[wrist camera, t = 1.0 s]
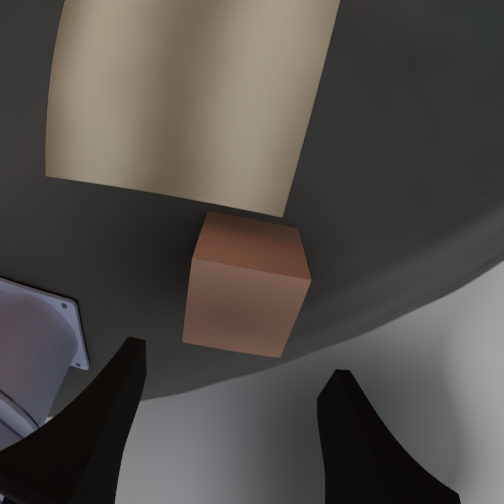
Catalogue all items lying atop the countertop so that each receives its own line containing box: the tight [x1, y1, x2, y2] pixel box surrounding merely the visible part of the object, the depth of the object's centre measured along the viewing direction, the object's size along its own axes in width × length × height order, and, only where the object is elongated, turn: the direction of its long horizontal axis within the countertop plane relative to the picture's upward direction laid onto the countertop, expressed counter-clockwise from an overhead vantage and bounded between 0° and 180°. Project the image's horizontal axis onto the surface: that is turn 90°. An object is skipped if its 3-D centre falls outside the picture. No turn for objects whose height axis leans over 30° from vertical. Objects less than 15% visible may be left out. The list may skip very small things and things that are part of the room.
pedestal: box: [46, 0, 340, 217], centre depth 12 cm, size 12×12×3 cm
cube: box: [182, 211, 311, 358], centre depth 16 cm, size 5×5×5 cm
